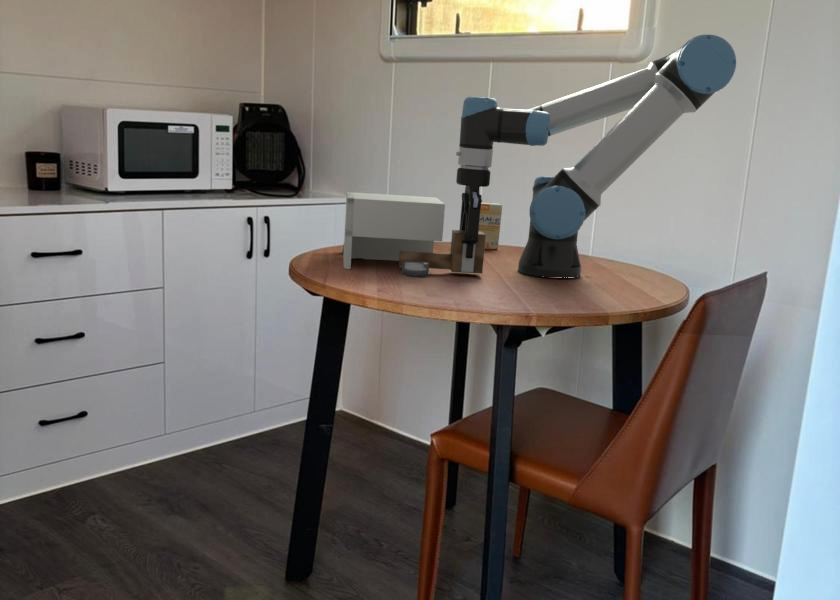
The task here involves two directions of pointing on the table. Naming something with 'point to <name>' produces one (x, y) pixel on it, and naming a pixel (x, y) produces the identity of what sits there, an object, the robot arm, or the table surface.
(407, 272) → the shiny grey metal dome
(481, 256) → the tan block on stick
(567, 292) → the table surface
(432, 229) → the shelf cabinet
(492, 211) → the supplement box
